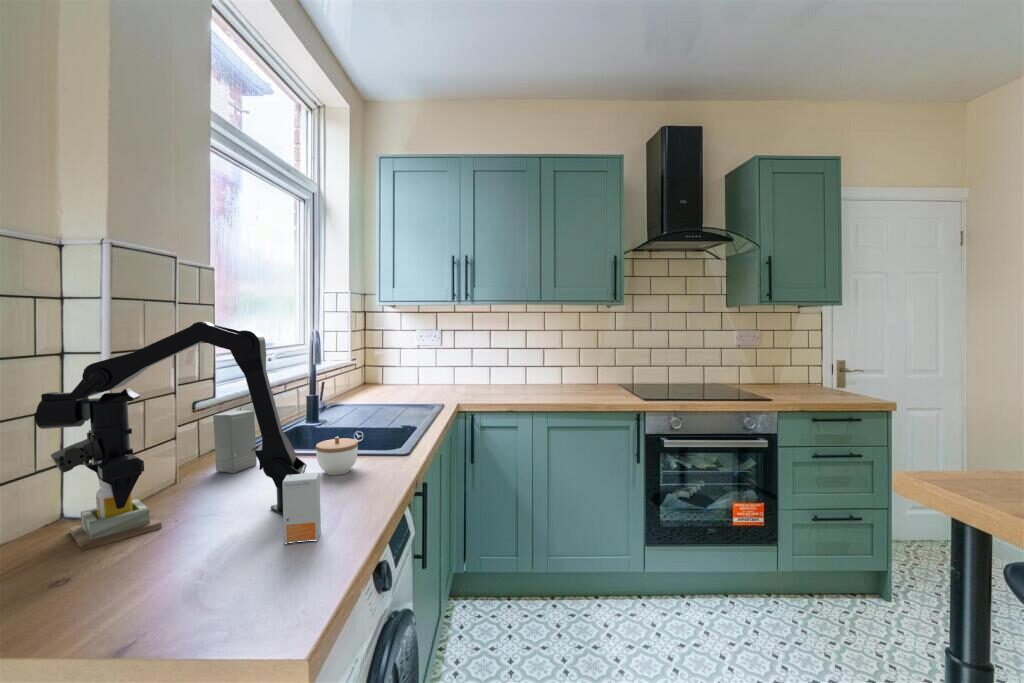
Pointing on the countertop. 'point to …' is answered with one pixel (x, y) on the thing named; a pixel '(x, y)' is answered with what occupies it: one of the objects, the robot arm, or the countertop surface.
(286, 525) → the skincare box
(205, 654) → the countertop surface
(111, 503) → the supplement bottle
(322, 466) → the lidded jar
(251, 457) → the skincare box
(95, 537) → the socket board
